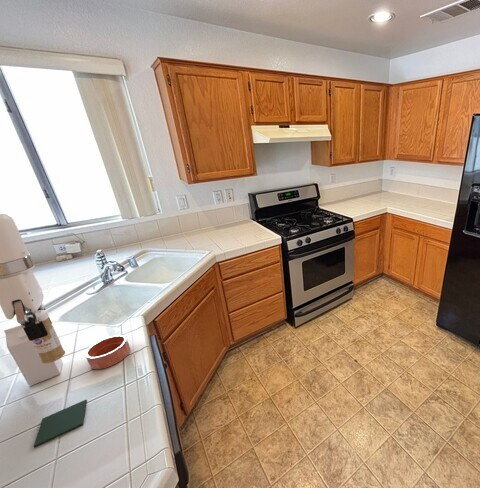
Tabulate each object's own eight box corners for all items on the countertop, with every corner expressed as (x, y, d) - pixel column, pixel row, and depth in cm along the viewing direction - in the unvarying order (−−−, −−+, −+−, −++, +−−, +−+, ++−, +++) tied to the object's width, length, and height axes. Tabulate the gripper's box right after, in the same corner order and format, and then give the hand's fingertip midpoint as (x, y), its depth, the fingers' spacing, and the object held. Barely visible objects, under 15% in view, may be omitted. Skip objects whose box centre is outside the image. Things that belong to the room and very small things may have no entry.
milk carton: (33, 373, 86) (6, 325, 80) (62, 362, 90) (39, 315, 84) (29, 386, 81) (0, 336, 74) (60, 374, 85) (35, 325, 79)
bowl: (88, 376, 83) (83, 363, 82) (92, 356, 92) (87, 344, 90) (131, 359, 90) (126, 347, 88) (130, 342, 98) (126, 331, 97)
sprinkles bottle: (39, 366, 66) (15, 322, 62) (46, 355, 70) (24, 312, 65) (62, 359, 68) (41, 315, 64) (68, 349, 72) (49, 307, 67)
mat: (34, 448, 63) (33, 446, 63) (43, 420, 70) (42, 418, 70) (83, 424, 68) (82, 423, 67) (87, 400, 75) (86, 399, 74)
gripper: (-3, 261, 65) (29, 323, 71) (-32, 284, 52) (9, 358, 58) (40, 253, 69) (66, 312, 75) (22, 273, 56) (56, 343, 62)
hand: (41, 331), depth 66 cm, fingers closed on sprinkles bottle, 4 cm apart
